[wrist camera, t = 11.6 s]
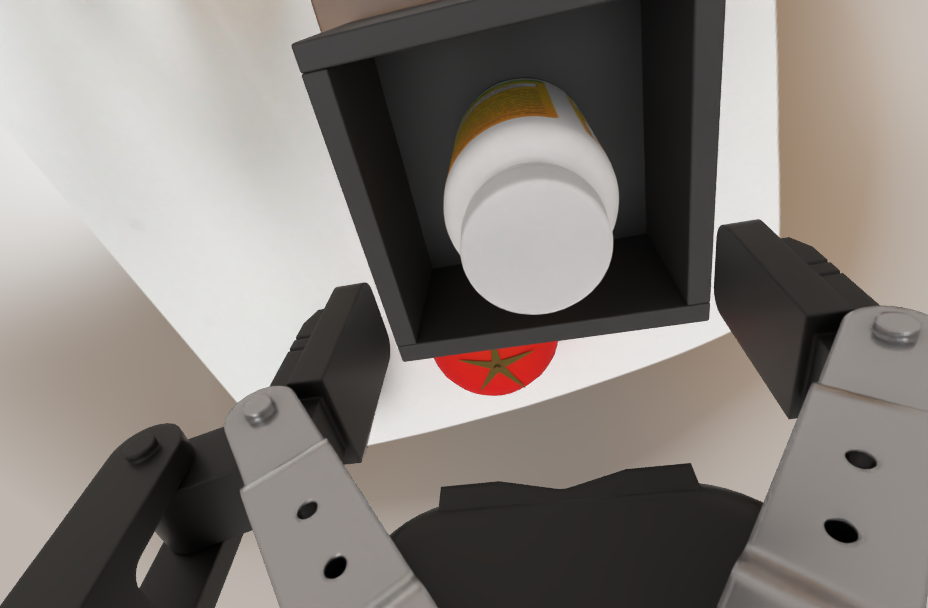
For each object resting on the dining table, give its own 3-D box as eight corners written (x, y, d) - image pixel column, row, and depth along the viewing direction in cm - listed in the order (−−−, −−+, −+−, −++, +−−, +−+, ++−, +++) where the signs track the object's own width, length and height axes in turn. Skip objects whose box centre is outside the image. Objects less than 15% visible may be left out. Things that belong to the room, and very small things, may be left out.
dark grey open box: (348, 22, 20) (289, 44, 14) (657, -54, 18) (730, -64, 13) (423, 276, 26) (402, 362, 20) (659, 238, 24) (709, 321, 19)
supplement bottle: (435, 173, 22) (401, 292, 14) (492, 49, 20) (489, 109, 11) (544, 225, 23) (569, 363, 15) (612, 114, 21) (688, 210, 12)
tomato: (463, 368, 66) (458, 429, 57) (415, 289, 60) (401, 344, 51) (570, 331, 62) (583, 391, 53) (530, 243, 56) (537, 294, 47)
